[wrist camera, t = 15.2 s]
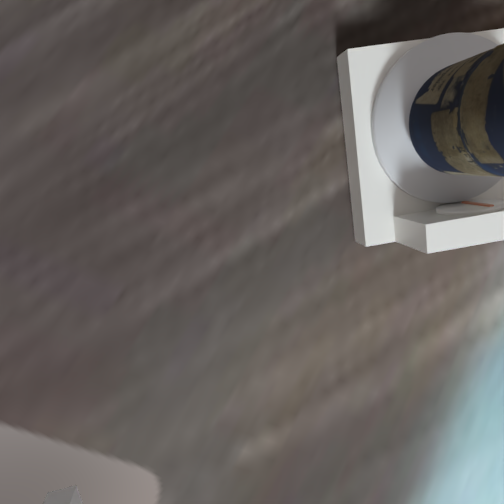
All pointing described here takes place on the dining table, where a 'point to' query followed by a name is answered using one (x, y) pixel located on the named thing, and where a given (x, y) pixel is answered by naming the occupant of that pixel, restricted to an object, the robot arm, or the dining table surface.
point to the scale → (410, 150)
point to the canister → (462, 117)
